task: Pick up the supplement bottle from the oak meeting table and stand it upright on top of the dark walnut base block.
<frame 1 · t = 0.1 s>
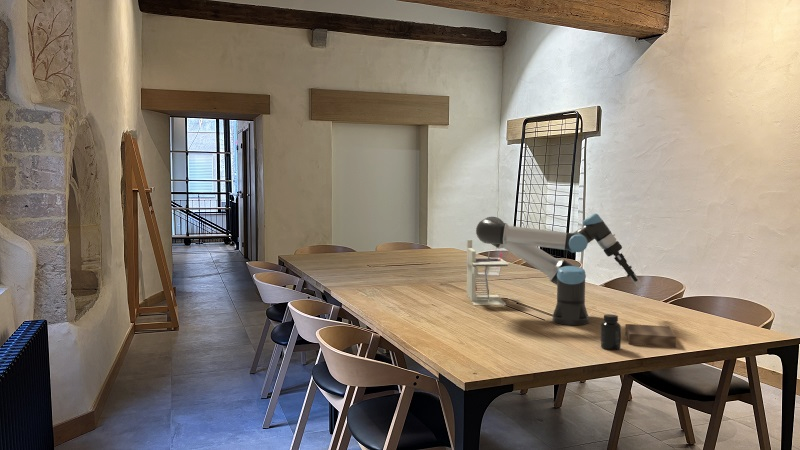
hand: (639, 284, 260), 15 cm above the table, fingers open, 13 cm apart
white ladder tower: (487, 300, 304), on the table
walnut base: (649, 340, 225), on the table
supplement bottle: (610, 348, 215), on the table
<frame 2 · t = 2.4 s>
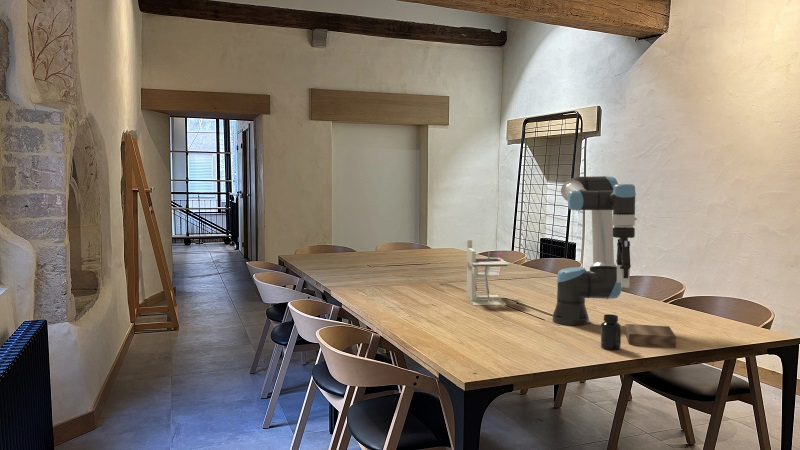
hand: (622, 285, 214), 23 cm above the table, fingers open, 13 cm apart
nothing on the table moved.
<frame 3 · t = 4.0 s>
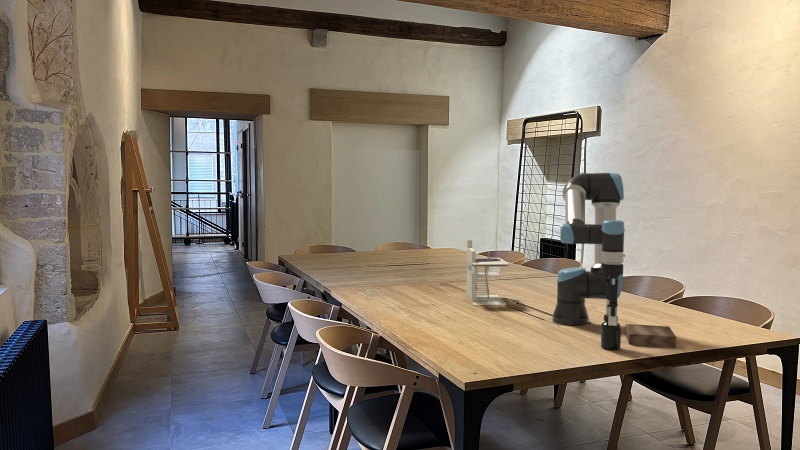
hand: (611, 321, 214), 10 cm above the table, fingers open, 13 cm apart
nothing on the table moved.
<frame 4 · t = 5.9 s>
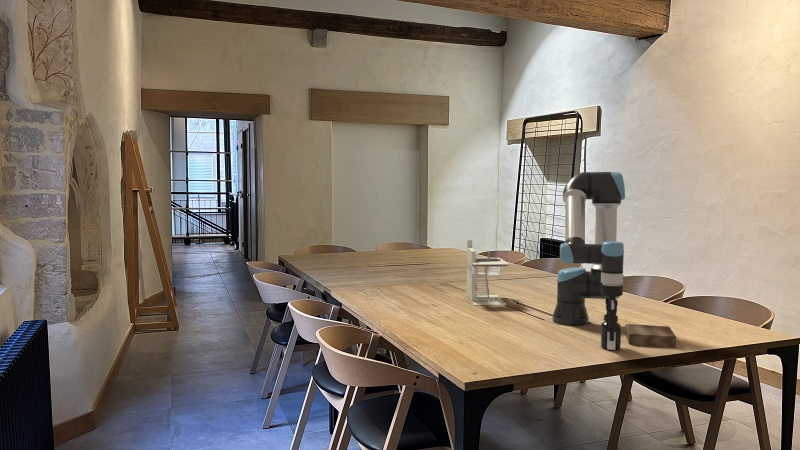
hand: (610, 346, 215), 1 cm above the table, fingers closed on supplement bottle, 7 cm apart
supplement bottle: (610, 348, 215), on the table, touching gripper
everything else where it was.
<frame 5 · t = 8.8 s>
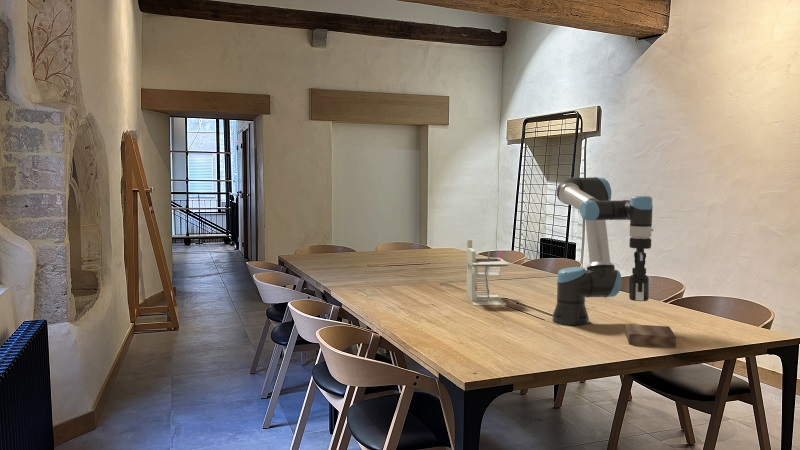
hand: (638, 298, 221), 17 cm above the table, fingers closed on supplement bottle, 7 cm apart
supplement bottle: (638, 300, 221), point 16 cm above the table, touching gripper
everything else where it was.
when the fingers open (6 cm above the table, at t = 11.6 s): supplement bottle drops 2 cm, resting on walnut base.
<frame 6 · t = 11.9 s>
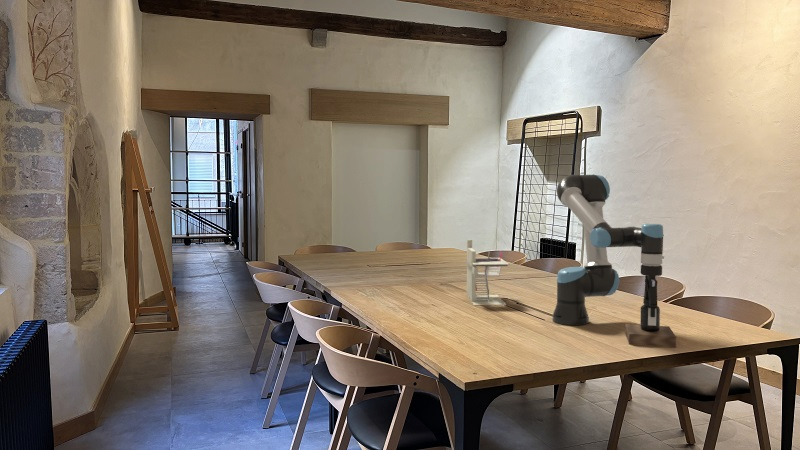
hand: (649, 321, 224), 7 cm above the table, fingers open, 11 cm apart
supplement bottle: (649, 330, 225), point 4 cm above the table, touching walnut base
everything else where it was.
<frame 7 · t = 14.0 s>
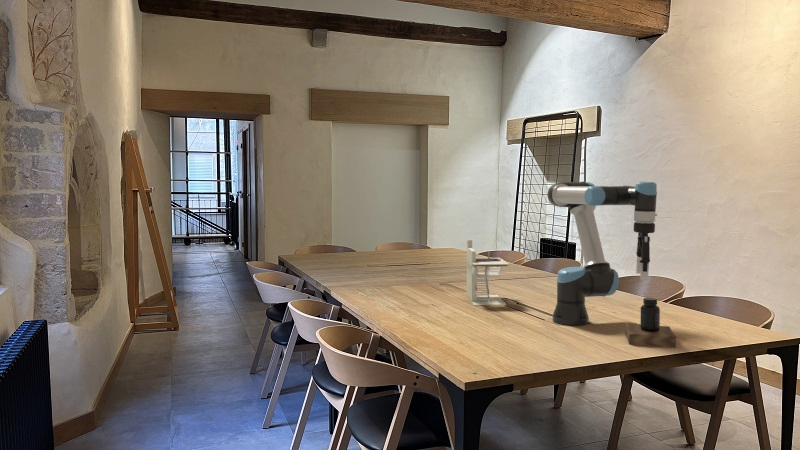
hand: (641, 276, 228), 24 cm above the table, fingers open, 13 cm apart
nothing on the table moved.
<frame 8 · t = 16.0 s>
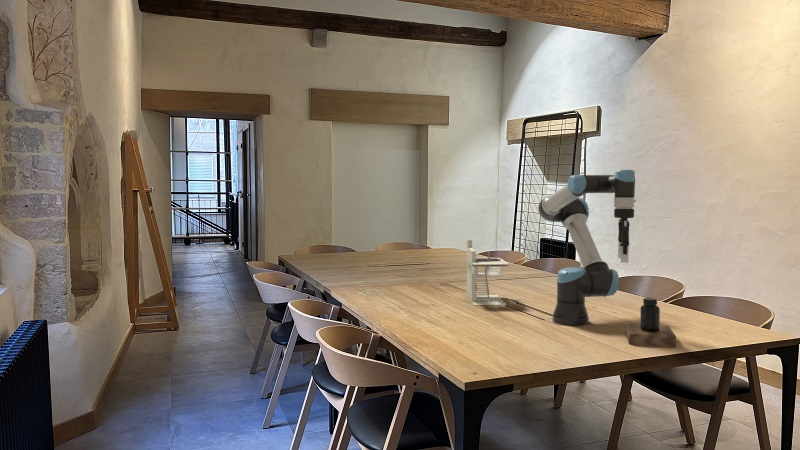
hand: (622, 260, 239), 29 cm above the table, fingers open, 13 cm apart
nothing on the table moved.
at the end: supplement bottle inside the target area on the walnut base (0.3 cm from its centre), point 3.8 cm above the walnut base's base; supplement bottle tilted 0°; the gripper is holding nothing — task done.
